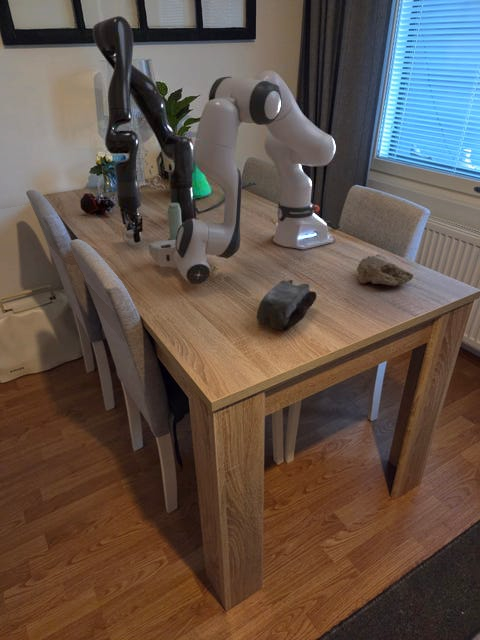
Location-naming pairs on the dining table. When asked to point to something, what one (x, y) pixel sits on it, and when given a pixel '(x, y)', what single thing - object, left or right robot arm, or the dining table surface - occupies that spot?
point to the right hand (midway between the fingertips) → (175, 238)
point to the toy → (97, 204)
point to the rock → (285, 304)
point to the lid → (130, 234)
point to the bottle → (174, 219)
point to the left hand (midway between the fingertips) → (134, 239)
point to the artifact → (381, 271)
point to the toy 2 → (199, 182)
